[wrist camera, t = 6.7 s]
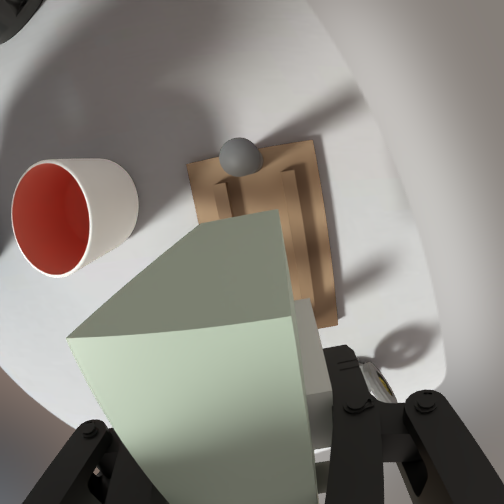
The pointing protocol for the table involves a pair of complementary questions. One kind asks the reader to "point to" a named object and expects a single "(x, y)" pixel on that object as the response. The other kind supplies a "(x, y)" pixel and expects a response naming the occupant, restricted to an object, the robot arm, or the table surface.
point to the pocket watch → (377, 383)
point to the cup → (72, 213)
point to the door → (208, 369)
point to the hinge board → (270, 198)
